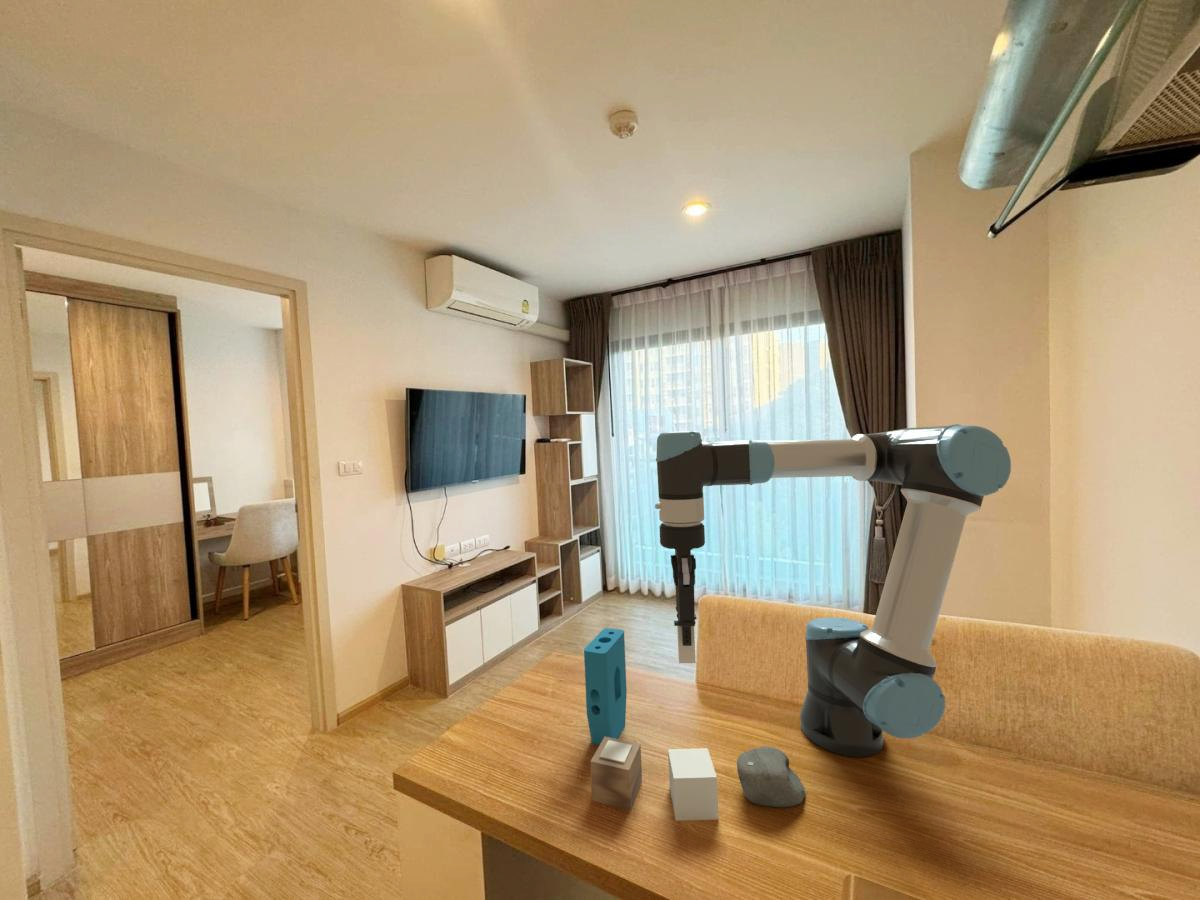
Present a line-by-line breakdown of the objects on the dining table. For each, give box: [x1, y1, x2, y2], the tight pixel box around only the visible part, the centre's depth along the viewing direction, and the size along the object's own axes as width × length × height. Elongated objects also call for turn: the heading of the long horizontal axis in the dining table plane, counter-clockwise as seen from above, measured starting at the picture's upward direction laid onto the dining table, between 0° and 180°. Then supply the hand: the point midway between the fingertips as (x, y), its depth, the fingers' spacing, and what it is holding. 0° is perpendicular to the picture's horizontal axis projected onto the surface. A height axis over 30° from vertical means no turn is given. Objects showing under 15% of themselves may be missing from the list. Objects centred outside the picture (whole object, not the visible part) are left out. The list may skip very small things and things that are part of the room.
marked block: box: [590, 737, 643, 812], centre depth 80 cm, size 7×7×7 cm
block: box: [583, 627, 628, 746], centre depth 96 cm, size 12×5×20 cm, turn 157°
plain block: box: [667, 747, 720, 822], centre depth 77 cm, size 7×7×7 cm
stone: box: [736, 745, 807, 808], centre depth 78 cm, size 9×9×10 cm
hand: (686, 660), depth 77 cm, fingers closed
